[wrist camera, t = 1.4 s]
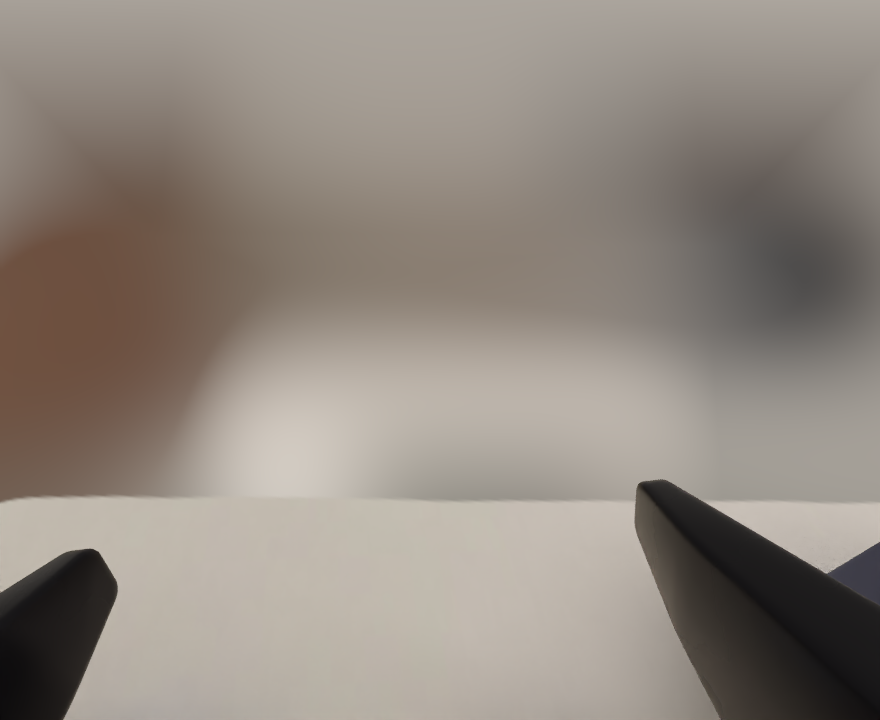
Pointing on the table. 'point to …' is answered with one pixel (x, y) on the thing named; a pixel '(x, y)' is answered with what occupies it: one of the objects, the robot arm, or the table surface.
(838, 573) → the case
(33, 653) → the robot arm
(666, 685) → the table surface
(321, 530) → the table surface
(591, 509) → the table surface
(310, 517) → the table surface
